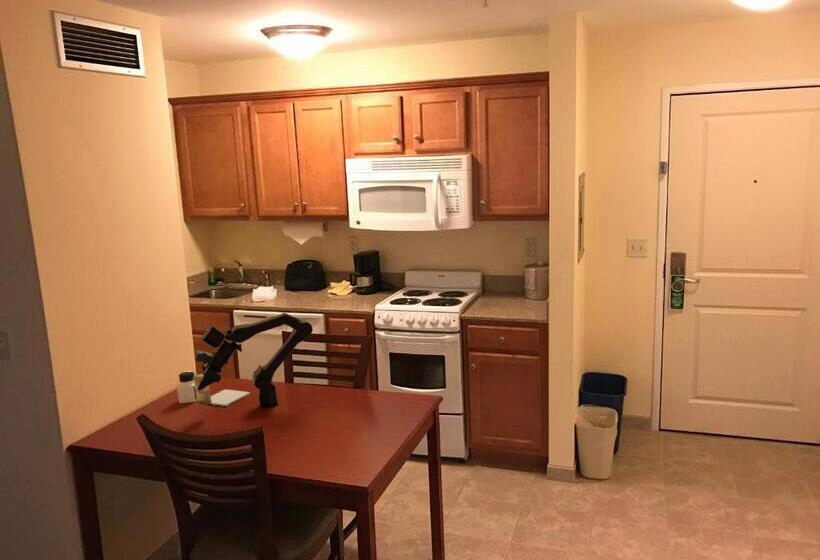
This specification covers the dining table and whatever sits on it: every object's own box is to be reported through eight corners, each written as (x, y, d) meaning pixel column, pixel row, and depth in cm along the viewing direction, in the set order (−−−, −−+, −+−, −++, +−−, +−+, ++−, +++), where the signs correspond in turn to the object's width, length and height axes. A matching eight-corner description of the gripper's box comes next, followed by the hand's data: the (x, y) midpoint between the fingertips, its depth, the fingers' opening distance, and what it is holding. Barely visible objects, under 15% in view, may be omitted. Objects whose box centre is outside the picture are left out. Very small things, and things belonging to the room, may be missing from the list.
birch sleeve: (211, 399, 258) (206, 372, 256) (211, 403, 253) (207, 376, 251) (197, 402, 257) (192, 375, 255) (197, 406, 252) (192, 379, 250)
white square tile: (250, 394, 278) (249, 392, 278) (226, 406, 266) (225, 404, 266) (225, 391, 285) (225, 389, 284) (201, 403, 273) (200, 401, 273)
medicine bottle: (196, 402, 275) (191, 374, 273) (179, 403, 275) (174, 376, 273) (201, 396, 282) (197, 369, 280) (185, 397, 282) (180, 370, 280)
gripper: (204, 337, 261) (179, 369, 259) (206, 348, 243) (180, 383, 242) (228, 352, 265) (203, 384, 263) (232, 365, 247) (206, 399, 246)
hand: (198, 387), depth 254 cm, fingers closed on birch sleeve, 5 cm apart
